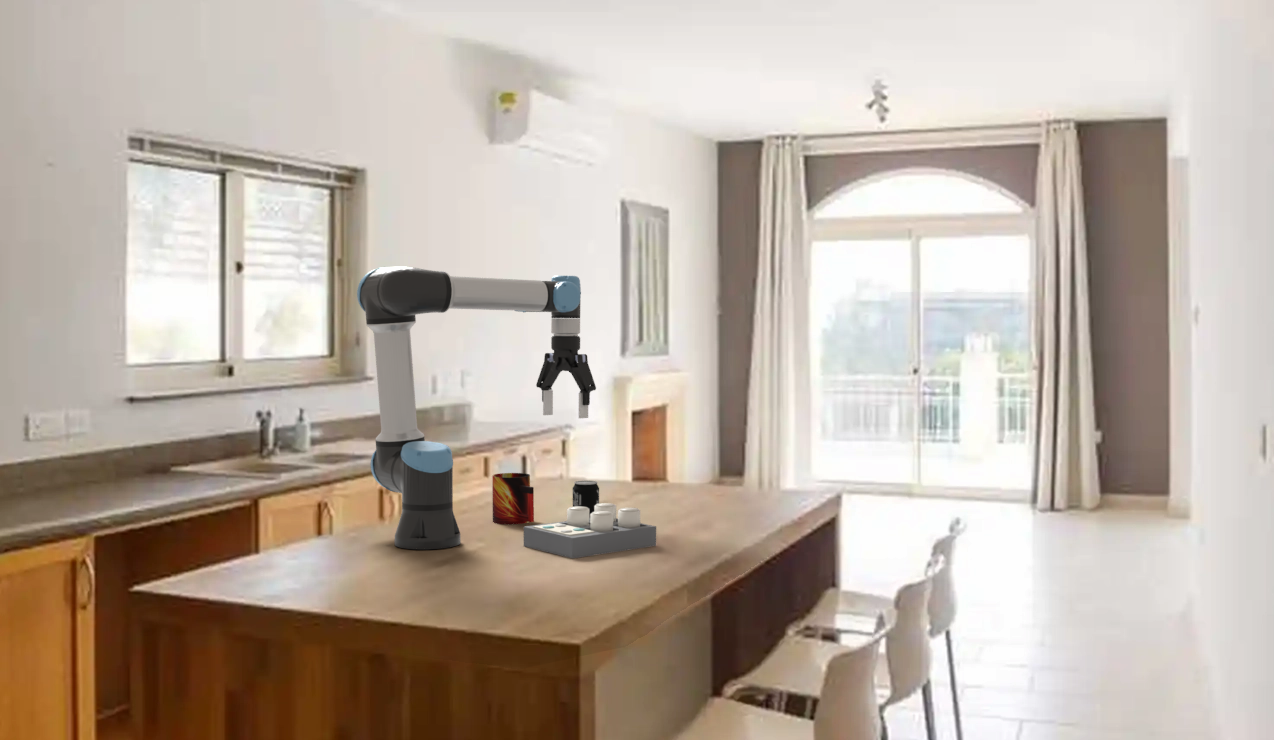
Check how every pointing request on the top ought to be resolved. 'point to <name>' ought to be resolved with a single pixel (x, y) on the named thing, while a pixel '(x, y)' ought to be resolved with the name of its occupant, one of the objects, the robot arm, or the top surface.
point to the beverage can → (586, 494)
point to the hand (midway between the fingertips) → (565, 416)
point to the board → (587, 539)
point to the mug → (512, 498)
